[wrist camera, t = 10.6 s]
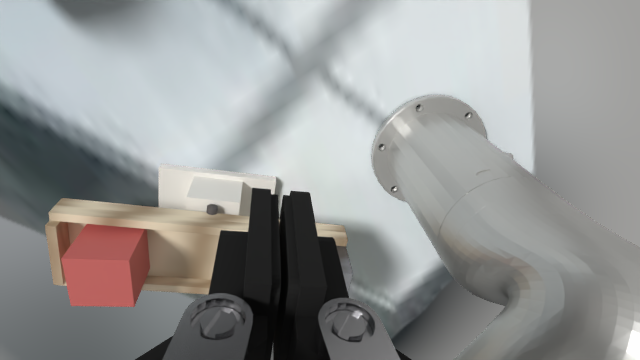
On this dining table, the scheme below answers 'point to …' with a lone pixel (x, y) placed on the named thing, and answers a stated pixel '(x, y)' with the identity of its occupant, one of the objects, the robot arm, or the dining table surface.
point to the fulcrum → (209, 189)
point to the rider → (106, 266)
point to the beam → (164, 240)
